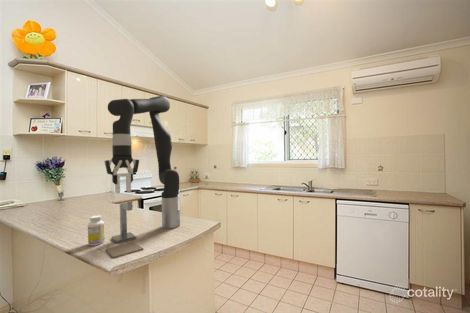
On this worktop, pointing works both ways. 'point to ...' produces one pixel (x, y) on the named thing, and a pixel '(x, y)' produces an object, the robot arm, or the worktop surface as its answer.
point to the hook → (128, 182)
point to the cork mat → (123, 249)
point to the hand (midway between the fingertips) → (122, 183)
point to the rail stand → (124, 224)
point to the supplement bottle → (95, 231)
